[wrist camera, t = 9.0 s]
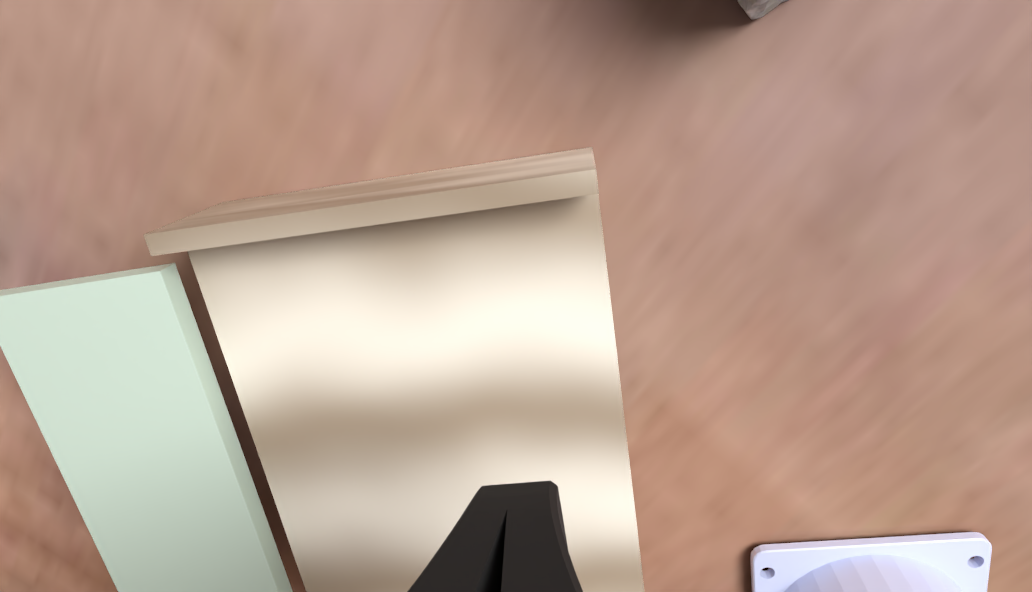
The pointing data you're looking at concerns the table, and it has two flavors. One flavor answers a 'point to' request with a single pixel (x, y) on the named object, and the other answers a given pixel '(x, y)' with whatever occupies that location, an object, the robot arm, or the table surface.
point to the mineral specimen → (758, 7)
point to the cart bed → (423, 360)
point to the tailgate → (141, 431)
